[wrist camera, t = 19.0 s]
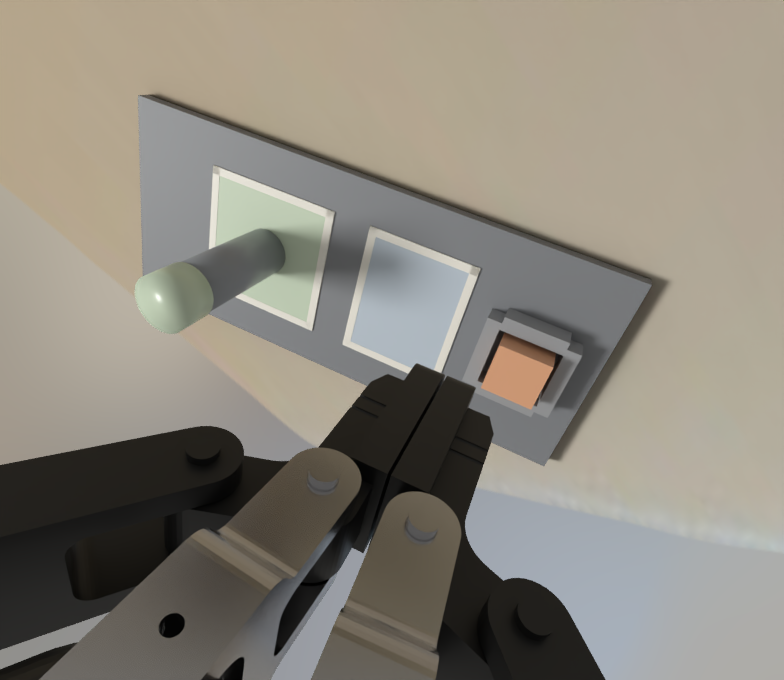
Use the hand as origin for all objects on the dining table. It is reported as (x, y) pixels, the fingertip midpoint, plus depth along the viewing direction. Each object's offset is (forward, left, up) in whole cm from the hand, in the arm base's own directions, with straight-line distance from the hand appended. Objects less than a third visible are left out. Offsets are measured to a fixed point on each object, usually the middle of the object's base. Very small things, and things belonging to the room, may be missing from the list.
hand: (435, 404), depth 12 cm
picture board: (+11, +10, -23) cm, 28 cm away
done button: (-3, +10, -22) cm, 24 cm away
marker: (+18, +10, -22) cm, 30 cm away
